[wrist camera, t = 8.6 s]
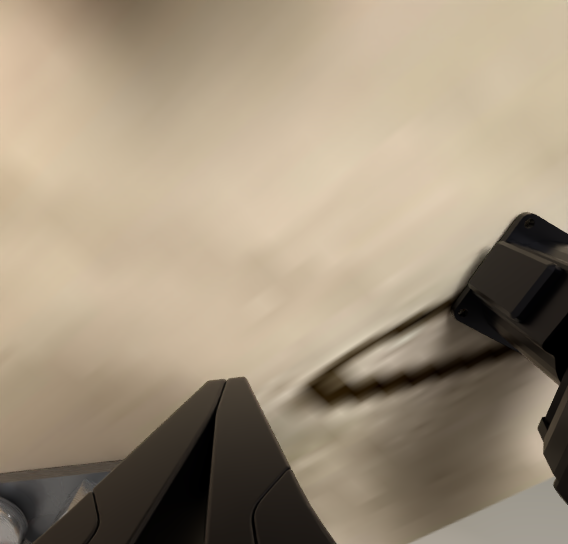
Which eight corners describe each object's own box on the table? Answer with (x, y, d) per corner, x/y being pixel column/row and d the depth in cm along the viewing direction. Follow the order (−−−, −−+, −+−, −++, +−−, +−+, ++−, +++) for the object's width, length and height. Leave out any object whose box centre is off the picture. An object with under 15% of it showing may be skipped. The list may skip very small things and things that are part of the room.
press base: (172, 563, 27) (158, 617, 24) (-59, 588, 27) (-101, 643, 24) (133, 435, 23) (111, 478, 20) (-133, 464, 24) (-192, 511, 21)
